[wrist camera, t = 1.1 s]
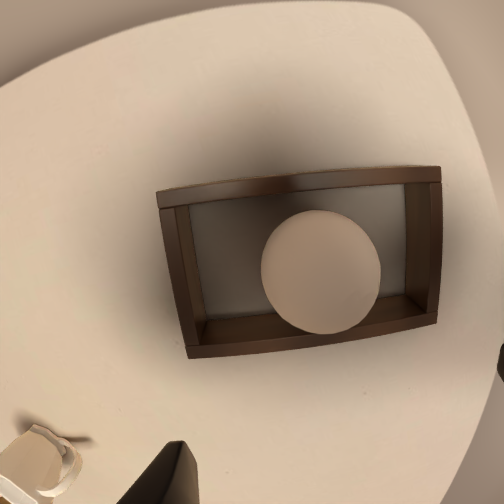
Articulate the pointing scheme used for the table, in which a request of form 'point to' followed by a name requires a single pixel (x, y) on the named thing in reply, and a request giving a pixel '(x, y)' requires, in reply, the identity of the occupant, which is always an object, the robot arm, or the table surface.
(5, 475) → the cup
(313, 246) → the egg
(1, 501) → the bread roll
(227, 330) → the holder
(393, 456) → the table surface
